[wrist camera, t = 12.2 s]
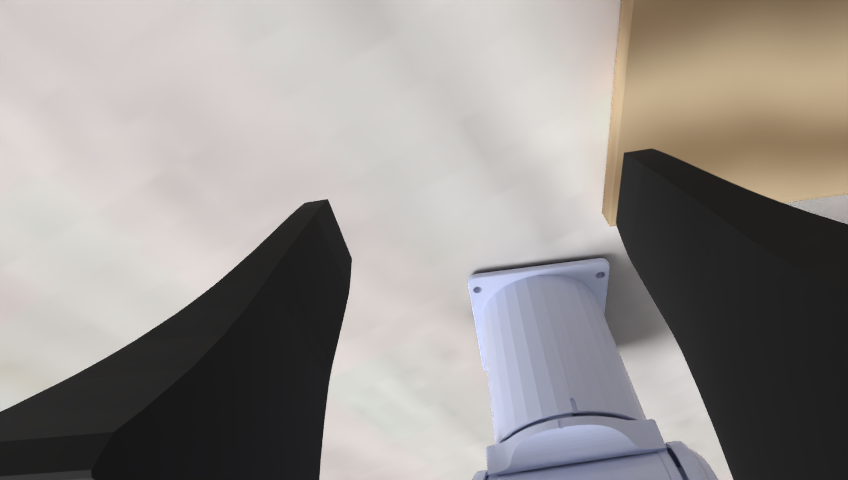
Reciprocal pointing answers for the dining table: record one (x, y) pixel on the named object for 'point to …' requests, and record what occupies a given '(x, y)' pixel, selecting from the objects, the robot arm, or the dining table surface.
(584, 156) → the dining table surface
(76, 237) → the dining table surface
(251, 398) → the robot arm
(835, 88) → the board
